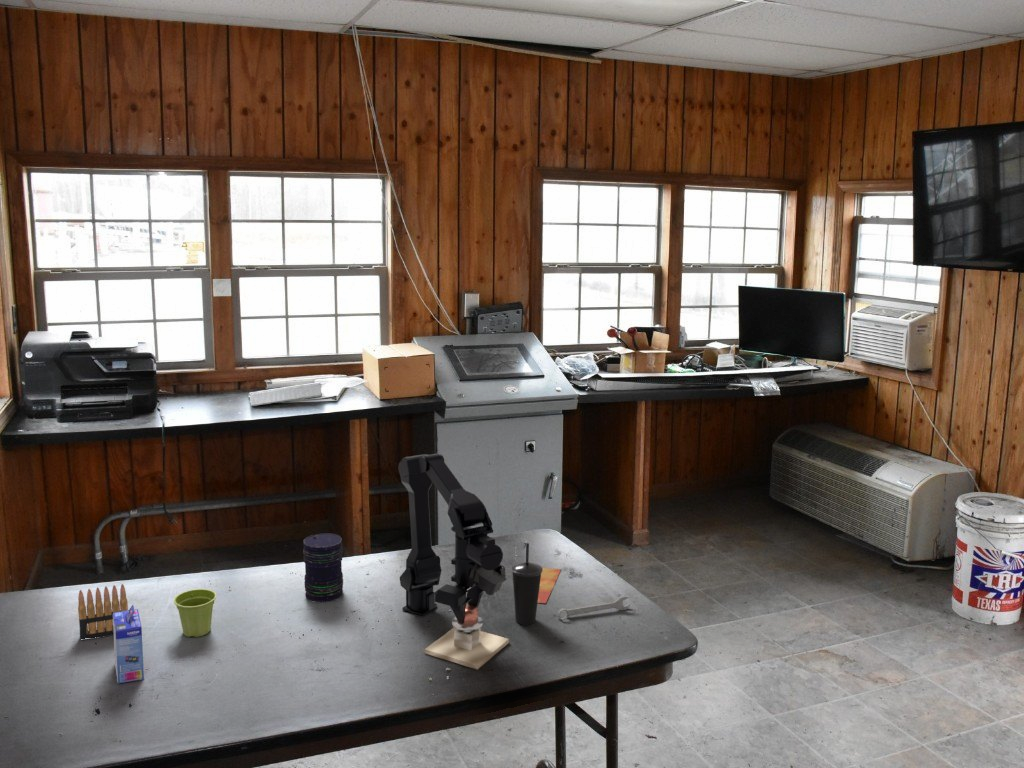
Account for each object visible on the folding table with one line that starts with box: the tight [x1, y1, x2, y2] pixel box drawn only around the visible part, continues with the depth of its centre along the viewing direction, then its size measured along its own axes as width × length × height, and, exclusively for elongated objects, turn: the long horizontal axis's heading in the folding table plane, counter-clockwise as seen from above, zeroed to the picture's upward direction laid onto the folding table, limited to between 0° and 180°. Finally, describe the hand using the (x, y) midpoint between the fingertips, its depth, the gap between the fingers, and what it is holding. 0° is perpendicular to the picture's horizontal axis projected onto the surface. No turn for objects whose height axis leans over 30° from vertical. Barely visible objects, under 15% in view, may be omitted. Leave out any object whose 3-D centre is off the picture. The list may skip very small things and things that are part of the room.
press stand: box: [424, 627, 510, 671], centre depth 202 cm, size 14×14×4 cm
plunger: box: [451, 603, 484, 635], centre depth 201 cm, size 7×7×7 cm
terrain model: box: [537, 567, 562, 604], centre depth 239 cm, size 25×22×1 cm
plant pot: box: [173, 588, 217, 638], centre depth 207 cm, size 9×9×9 cm
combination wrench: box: [557, 595, 632, 621], centre depth 220 cm, size 4×1×20 cm
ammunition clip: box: [77, 583, 129, 641], centre depth 204 cm, size 11×2×12 cm, turn 114°
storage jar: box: [302, 532, 344, 603], centre depth 227 cm, size 10×10×15 cm
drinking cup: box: [510, 542, 544, 626], centre depth 214 cm, size 8×8×20 cm
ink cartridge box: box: [113, 604, 145, 684], centre depth 188 cm, size 10×6×14 cm, turn 27°
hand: (467, 618), depth 201 cm, fingers closed on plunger, 5 cm apart
